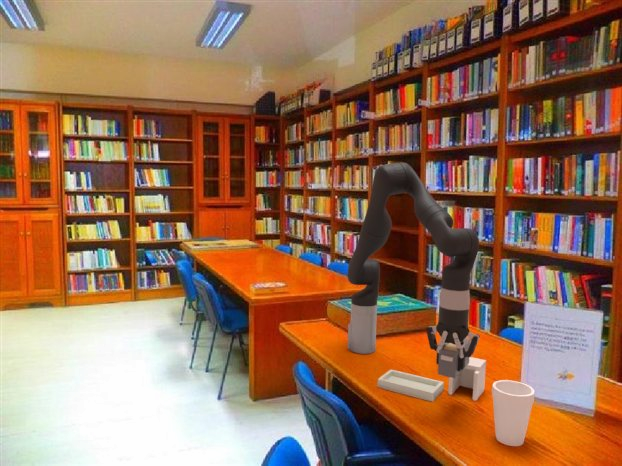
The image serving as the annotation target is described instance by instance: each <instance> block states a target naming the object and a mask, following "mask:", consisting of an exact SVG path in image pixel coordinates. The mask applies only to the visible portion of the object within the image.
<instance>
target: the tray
mask: <svg viewBox="0 0 622 466" xmlns="http://www.w3.org/2000/svg"><path fill="white" fill-rule="evenodd" d="M444 386H445V381H441V380H436V379H432V378H428V377H425V376H420V375H416V374H411V373H408V372H404V371H399V370H395V369H389V370H387V372H385V373H384V374H383V375H381V376H380V377H379V378H377V388H379V389H383V390H387V391H391V392H395V393H398V394H401V395H402V394H403V395H405V396H410V397H413V398H417V399H421V400H425V401H427V402H432V403H433V402H434V401H435V400H436V399H437V398H438V397H439V396H440V395H441V394H442V392H443V391H444Z"/></svg>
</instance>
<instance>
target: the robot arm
mask: <svg viewBox="0 0 622 466" xmlns="http://www.w3.org/2000/svg"><path fill="white" fill-rule="evenodd" d="M400 194H407V195H409V196H411V198H413V203H414V204H413V207H414V214H415V217H416V218H417V220H418V222H419V223H420V224H421V225H422V226H423V227H424V228H425V229H426V230H427V231H428V232H429V234H430V235H431V238H432V240H433V242H434V245H435V247H436V248H437V250H438V251H439V252H440V253H441V254H442V255H444V256H446V257H452V258H453V257H454V258H453V261H452V262H450V263H448V264H446V265H445V266H443V267H442V272H441V286H440V287H441V288H440V293H439V301H438V302H439V304H438V322H437V324H436V325H432V324H431V325H429V326H428V327H426V329H425V330H426V335H427V336H426V337H427V339H428V344H429V348H430V349H431V350H434V352H435V353H436V359H435V360H436V364H437V365H438V364H439V350H440V349H441V348H443V347H445V345H446V343H452V344H455V345H456V348H457V350H458V352H459V353H458V354H459V358H458V371H461V370H463V369H464V367H465V357H472V355H474V353H475V351H476V347H477V345H478V343H479V340H480V338H481V337H480V334H478V333H476V334H475V333H473V332H470V329H469V317H470V307H471V302H470V301H471V297H470V296H471V294H470V285H471V273H472V271H473V268H474V265H475V262H476V259H477V256H478V253H479V249H480V240H479V237H478V236H479V235H477V233H476V231H475V230H473V229H471V228H468V227H466V228H453V226H454V218H453V217H452V216H451V214H449V212H447V210H446V209H445V208H443V206H442V205H440V203H438V201H436V200H435V198H434V197H433V196H432V195H431V193H430V192H429V190H428V189H427V188H426V185H425V184H424V182H423V181H422V180H421V178H420V177H419V176H418V174H417V172H416V171H415V170H414V168H413V167H412V166H411V165H410V164H408V163H407V162H395V163H387V164H386V163H385V164H382V165H380V166H378V167H377V168H376V171H375V173H374V175H373V180H372V186H371V191H370V197H369V202H368V205H367V206H368V207H367V210H366V213H365V216H364V219H363V223H362V225H361V228H360V232H359V237H358V240H357V244H356V246H355V248H354V251H353V253H352V256H351V258H350V261H349V263H348V266H347V280H348V282H349V283H350V284H351V285H354V286H355V285H356V286H362V285H363V286H365V287H364V288H363V289H361V290H360V291H357V292H355V293H352V295H351V301H350V302H351V303H350V322H349V323H348V324H347V350H350V351H351V352H353V353H355V354H361V355H367V354H372V353H373V354H374V353H375V352H376V346H377V345H376V343H377V321H378V320H377V318H378V317H377V316H378V315H377V314H378V300H379V299H378V298H379V290H380V289H379V288H380V279H381V268H380V267H381V266H380V263H379V261H378V260H377V259H376V258H369V257H371V256H373V255H374V254H375V253H376V252H378V251H379V250H381V249H382V248H383V246H384V245H385V244H386V243H387V241H388V239H389V236H390V234H391V230H392V227H393V223H392V218H391V216H390V213H389V212H388V210H387V208H386V205H387V202H388V199H389V197H391V196H394V195H400ZM437 332H438V335H439V336H440V339H439V342H437V337H436V336H437V335H436V333H437ZM466 337H468V340H469V341H470V346H469V348H468V351H466V350H465V343H464V339H465V338H466Z"/></svg>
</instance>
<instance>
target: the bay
mask: <svg viewBox="0 0 622 466" xmlns="http://www.w3.org/2000/svg"><path fill="white" fill-rule="evenodd" d="M486 366H487V360H486V359H482V358H478V357H476V358H475V357H473V356H471V357H469V364H468V365H467V366H466V367H465V368H464V369H463V370H462V371H461V372H460V373H459V375H458V376H457V377H456V378H451V377H448V391H447V392H448V394H447V395H450V396H451V395H453V394H454V393H455V392H456V390H457V389H458V388H460V387H464V388H469V389H472V401H475V402H477V401H478V399H479V398H480V396H481V395H482V394H483V393H484V391H485V384H486V383H485V382H486V370H487V369H486V368H487V367H486Z"/></svg>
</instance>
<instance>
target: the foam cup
mask: <svg viewBox="0 0 622 466" xmlns="http://www.w3.org/2000/svg"><path fill="white" fill-rule="evenodd" d="M535 393H536V391H535V390H534V387H532V386H530V385H529V384H526V383H523V382H520V381H517V380H511V379H510V380H509V379H503V380H502V379H500V380H496V381H494V382H493V384H492V386H491V395H492V404H493V416H494V417H493V420H494V430H495V431H494V432H495V439H496V440H497V442H499V443H501V444H504V445H505V446H511V447H520V446H523V445H524V442H525V437H526V434H527V429H528V426H529V421H530V416H531V412H532V407H533V404H534V401H535Z"/></svg>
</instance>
